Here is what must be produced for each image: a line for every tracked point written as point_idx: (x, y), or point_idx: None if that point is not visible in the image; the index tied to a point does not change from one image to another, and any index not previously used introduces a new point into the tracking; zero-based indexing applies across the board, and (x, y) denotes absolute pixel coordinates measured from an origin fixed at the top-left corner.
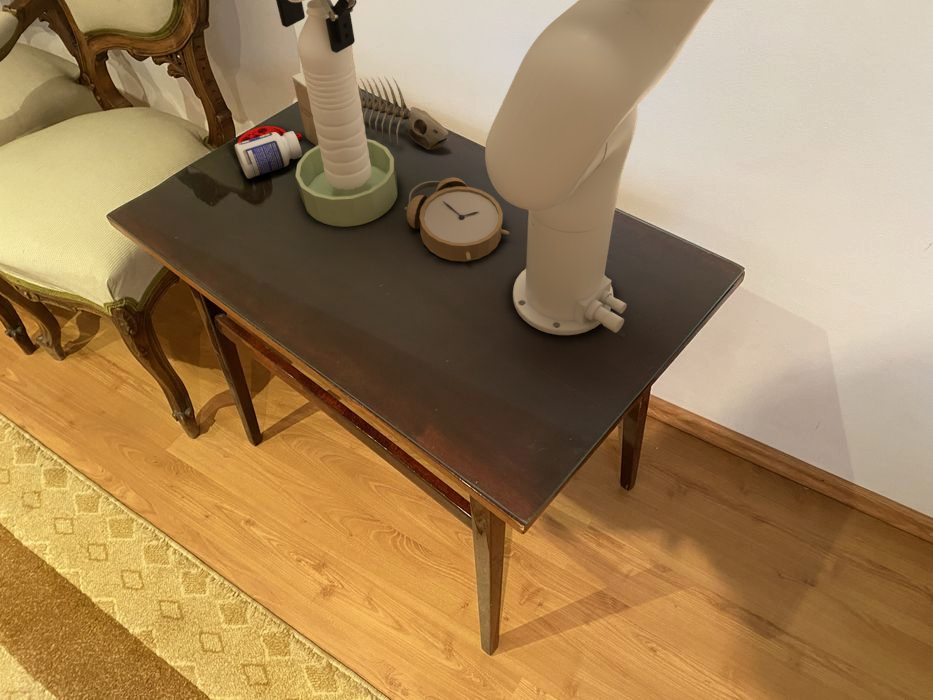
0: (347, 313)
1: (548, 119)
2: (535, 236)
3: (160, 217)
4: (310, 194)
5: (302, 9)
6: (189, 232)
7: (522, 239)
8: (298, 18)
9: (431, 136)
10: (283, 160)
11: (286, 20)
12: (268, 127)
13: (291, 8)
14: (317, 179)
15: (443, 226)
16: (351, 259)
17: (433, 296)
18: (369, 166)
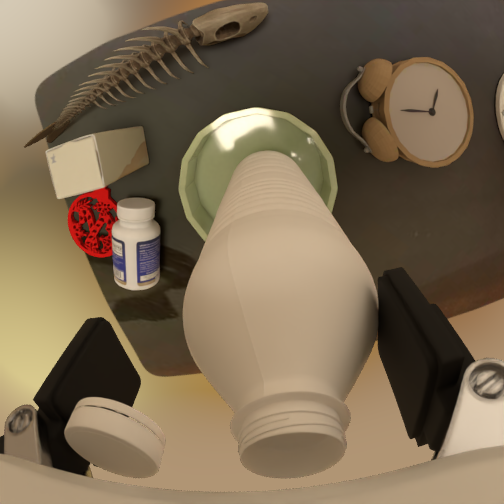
0: (417, 279)
1: None
2: None
3: (168, 355)
4: None
5: (94, 341)
6: None
7: (460, 70)
8: (116, 347)
9: (250, 26)
10: (159, 233)
11: (133, 392)
12: (72, 208)
13: (110, 394)
14: (208, 203)
15: (429, 140)
16: (364, 238)
17: (460, 201)
18: (296, 164)
